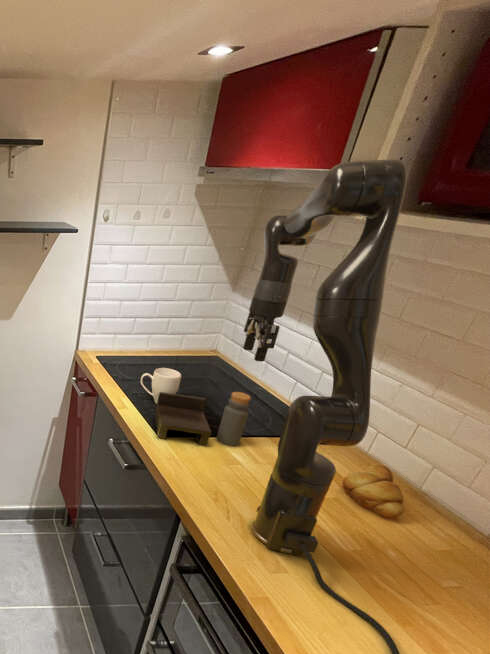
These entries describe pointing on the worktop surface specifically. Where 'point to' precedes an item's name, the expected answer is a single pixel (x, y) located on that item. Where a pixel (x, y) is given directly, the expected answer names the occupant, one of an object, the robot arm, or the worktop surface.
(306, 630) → the worktop surface
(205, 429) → the dark brown legged piece
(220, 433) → the bottle
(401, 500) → the bread roll
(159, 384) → the mug
